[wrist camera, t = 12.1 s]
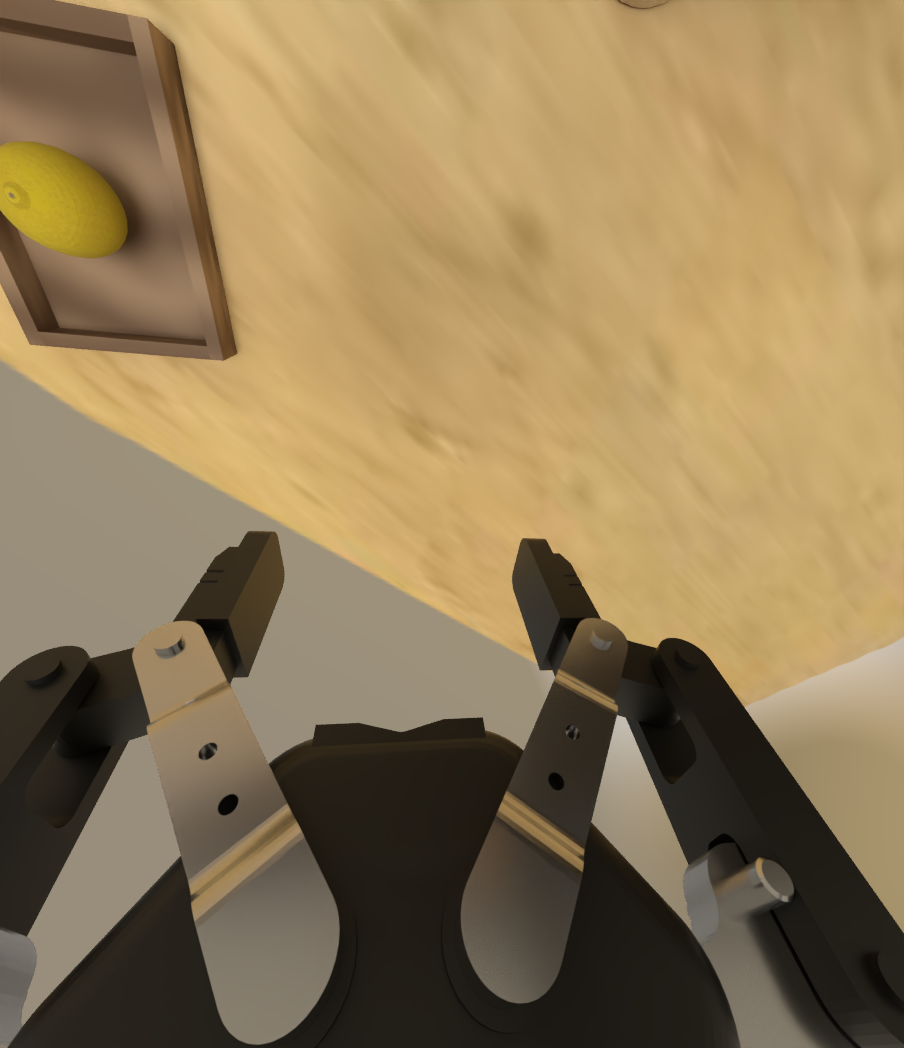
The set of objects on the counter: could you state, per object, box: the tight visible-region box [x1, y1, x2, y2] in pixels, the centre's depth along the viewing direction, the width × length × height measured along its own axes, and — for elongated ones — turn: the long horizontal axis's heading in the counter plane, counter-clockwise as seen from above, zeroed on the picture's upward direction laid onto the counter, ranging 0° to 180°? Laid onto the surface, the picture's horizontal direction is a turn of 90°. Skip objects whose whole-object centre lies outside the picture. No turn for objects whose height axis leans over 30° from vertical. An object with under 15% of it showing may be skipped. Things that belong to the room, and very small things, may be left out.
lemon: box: [0, 141, 128, 259], centre depth 24 cm, size 6×6×8 cm
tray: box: [0, 0, 237, 361], centre depth 26 cm, size 18×14×3 cm
